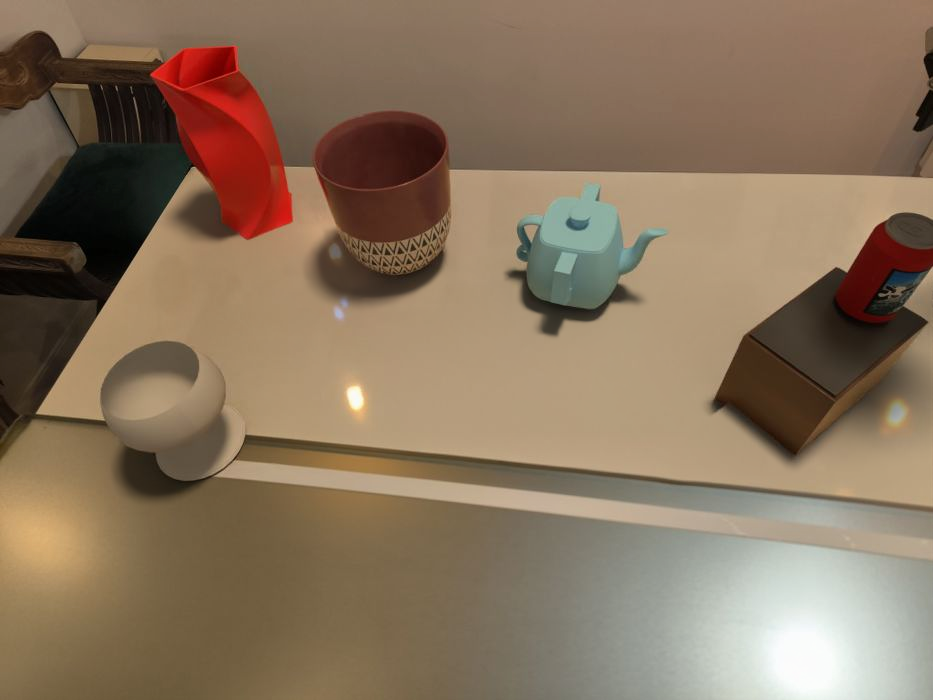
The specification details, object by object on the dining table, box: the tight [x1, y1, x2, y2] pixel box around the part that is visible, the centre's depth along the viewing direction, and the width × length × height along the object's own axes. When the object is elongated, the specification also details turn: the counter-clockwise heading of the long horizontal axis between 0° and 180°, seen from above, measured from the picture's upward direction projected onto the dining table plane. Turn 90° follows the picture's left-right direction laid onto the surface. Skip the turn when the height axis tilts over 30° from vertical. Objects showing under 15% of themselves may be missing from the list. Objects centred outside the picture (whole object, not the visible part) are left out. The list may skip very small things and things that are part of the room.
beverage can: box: [836, 211, 933, 323], centre depth 68 cm, size 7×7×12 cm
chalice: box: [99, 340, 247, 482], centre depth 77 cm, size 14×14×15 cm
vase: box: [149, 45, 294, 240], centre depth 102 cm, size 15×14×28 cm
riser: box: [714, 266, 930, 457], centre depth 77 cm, size 18×12×14 cm, turn 126°
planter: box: [312, 110, 452, 276], centre depth 95 cm, size 20×20×21 cm
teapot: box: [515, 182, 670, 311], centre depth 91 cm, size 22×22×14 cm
